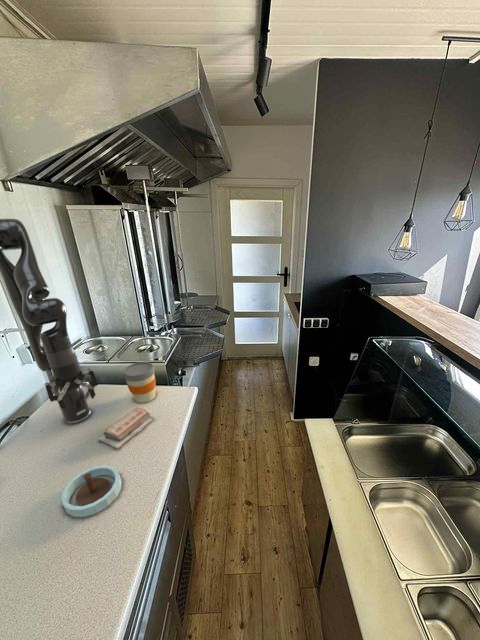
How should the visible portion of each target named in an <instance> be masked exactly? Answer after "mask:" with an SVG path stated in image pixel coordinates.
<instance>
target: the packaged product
mask: <svg viewBox="0 0 480 640" xmlns="http://www.w3.org/2000/svg"><path fill="white" fill-rule="evenodd" d="M154 420H155V417H154V416H151V415H150V412H149V411H148V410H147V409H144V408H142V407H139V406H136V407H135V408H134V409H133V410H131V411H129V412H128V413H126V414H125V415H124V416H123V417H121V418H120V419H119V420H117V421H116V422H114V423H113V424H112V425H111V426H109V427H107V428H106V429H105V430H103V434H102V435H101V436H99V437H98V440H99V441H100V442H102V443H104V444H107V445H109V446H110V447H113V448H114V449H117V450H118V449H120V448H121V447H122V446H123V445H124V444H125V443H126V442H127V441H129V440H130V439H131V438H133V437H134V436H135V435H137V434H138V433H139V432H141V431H142V430H143V429H144V428H145V427H146V426H147V425H148V424H150V423H152V421H154Z"/></svg>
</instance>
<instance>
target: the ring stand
mask: <svg viewBox="0 0 480 640" xmlns="http://www.w3.org/2000/svg"><path fill="white" fill-rule="evenodd" d="M84 479H85V482H84V483H83V484H82V486H81V487H79V489H78V490H77V492H76V494H75V500H76V502H77V504H78V506H85V505H88V504H91V503H94V502H96V501H97V500H99V499H101V498H102V497H104V496H105V495H106V494H107V493H108V492H109V491H110V490H111V488H112V486H111V484H110V483H111V482H110V481H109V480H108V479H107V478H105V477H97V478H96V477H95V478H92V476H91V474H90V473H87V474H85V475H84Z"/></svg>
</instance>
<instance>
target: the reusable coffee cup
mask: <svg viewBox="0 0 480 640" xmlns="http://www.w3.org/2000/svg"><path fill="white" fill-rule="evenodd" d="M155 370H156V369H155V368H154V365H153V364H152V363H151V362H148V361H139V362H134V363H131V364H129V365H127V366H126V367H125V368H124V369H123V377H124V380H125V381H126V383H125V384H126V387H127V389H128V390H129V393H131V394H132V397H133V399H134V401H135V403H139V404H142V403H143V404H144V403H148V402H151V401H152V400H153V399H155V397H156V386H157V385H156V383H157V382H156V381H157V380H156V376H155Z"/></svg>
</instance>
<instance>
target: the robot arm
mask: <svg viewBox="0 0 480 640" xmlns="http://www.w3.org/2000/svg"><path fill="white" fill-rule="evenodd" d="M14 250H15V251H16V250H20V251H21V252H20V254H19V258H18V260H17V262H16V263H15V264H13V262H12V261H10V259H9V258H8V257H7V256H6V254H5V253H4V251H14ZM36 256H37V255H36V253H35V250H34V247H33V243H32V241H31V239H30V235H29V233H28V231H27V229H26V227H25V225H24V223H23V222H22V221H21V220H20V219H17V218H0V275H1V278H2V281H3V283H4V286H5V288H6V291H7V294H8V296H9V299H10V302H11V304H12V306H13V308H14V311H15V313H16V315H17V317H18V320H19V321H20V324H21V326H22V328H23V330H24V333H25V335H26V338H27V341H28V344H29V347H30V351H31V353H32V356H33V359H34V362H35V364H36V366H37V368H38V369H39V370H40V371H42V372H48V371H51V372H52V375H50V377H49V379H48V382H45V383H44V388H45V391H46V393H47V397H48V399H49V401H50V402H57V404H58V407H59V409H60V412H61V414H62V417H63V421H64V422H65V423H66V424H68V425H74V424H78V423H81V422H84V421H85V420H87V419H88V418H89V417H90V416H91V414H92V410H91V408H90V407H89V404H88V401H87V398H88V395H89V396H90V398H91V400H92V399H95V397H96V392H95V387H96V386H99V382H98V379H97V377H96V374H95V373H94V370H92V368H88V369H87V370H86V371H85V370H84V371H82V368H81V365H80V363H79V359H78V355H77V354H76V351H75V349H74V347H73V345H72V342H71V340H70V336H69V333H68V327H67V325H68V324H67V319H68V317H67V316H68V312H67V311H68V310H67V306H66V304H65V303H64V302H63V300H61V299H59V298H57V297H50V298H48V297H49V296H50V294H51V291H50V288H49V286H48V284H47V282H46V280H45V278H44V276H43V273H42V272H41V269H40V267H39V263H38V259H37V257H36ZM53 323H54V326H53V327H51V328H49V329H46V330H45V331H43V328H44V327H43V326H44V325H48V324H53ZM42 331H43V332H42ZM85 376H87V377H88V378H90V381H91V382H88V381H86V380H85ZM83 387H84V388H86V389H87V392H86V394H85V393H84V390H83Z"/></svg>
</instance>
